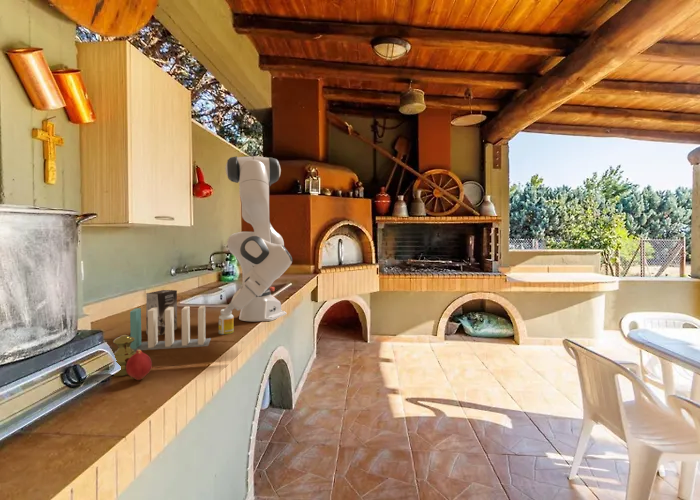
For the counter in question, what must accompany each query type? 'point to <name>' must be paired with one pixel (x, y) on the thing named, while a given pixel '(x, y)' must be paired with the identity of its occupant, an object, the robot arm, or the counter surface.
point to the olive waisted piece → (123, 352)
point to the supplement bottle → (226, 323)
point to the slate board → (175, 345)
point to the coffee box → (161, 307)
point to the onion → (138, 365)
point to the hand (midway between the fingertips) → (225, 312)
